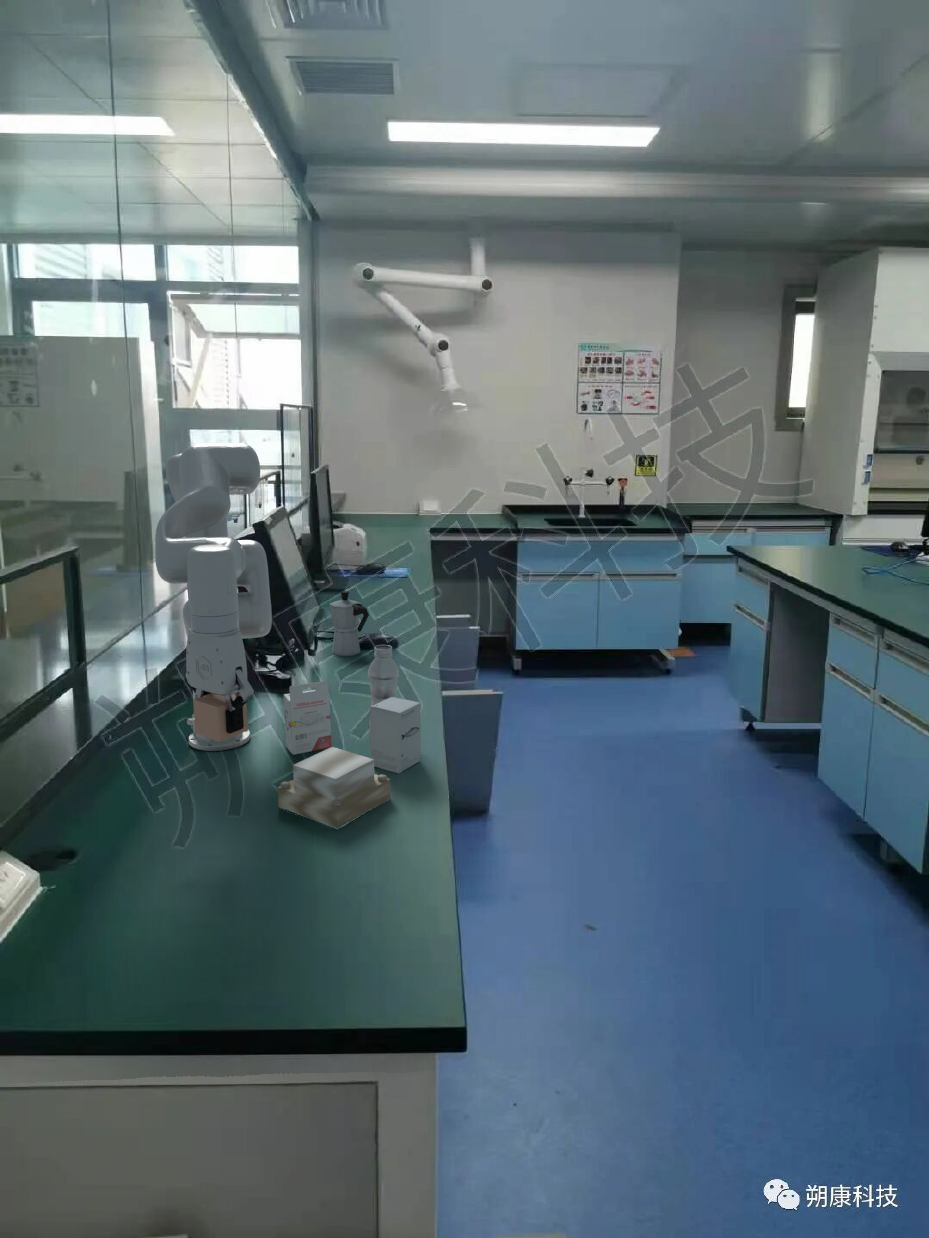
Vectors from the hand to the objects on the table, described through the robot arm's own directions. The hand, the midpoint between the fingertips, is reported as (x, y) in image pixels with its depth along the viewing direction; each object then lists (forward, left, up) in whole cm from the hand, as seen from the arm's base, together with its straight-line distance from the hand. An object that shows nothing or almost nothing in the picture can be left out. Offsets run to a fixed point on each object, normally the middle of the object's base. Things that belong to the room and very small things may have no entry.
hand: (221, 725), depth 140 cm
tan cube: (0, 0, -1) cm, 1 cm away
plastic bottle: (-2, +45, -17) cm, 48 cm away
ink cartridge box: (-11, +31, -17) cm, 37 cm away
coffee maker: (-51, +89, -17) cm, 104 cm away
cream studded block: (+11, +15, -17) cm, 25 cm away
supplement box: (+9, +35, -17) cm, 40 cm away
